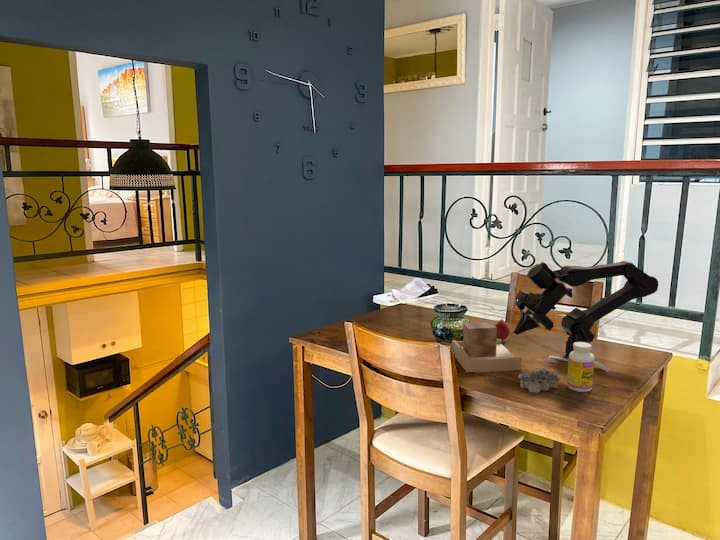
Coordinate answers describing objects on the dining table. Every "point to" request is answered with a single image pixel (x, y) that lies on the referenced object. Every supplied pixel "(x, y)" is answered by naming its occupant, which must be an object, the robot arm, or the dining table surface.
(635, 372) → the dining table surface
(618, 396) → the dining table surface
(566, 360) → the fork
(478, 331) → the walnut block
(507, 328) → the onion
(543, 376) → the egg carton
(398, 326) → the dining table surface
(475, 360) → the tray
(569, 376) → the supplement bottle
